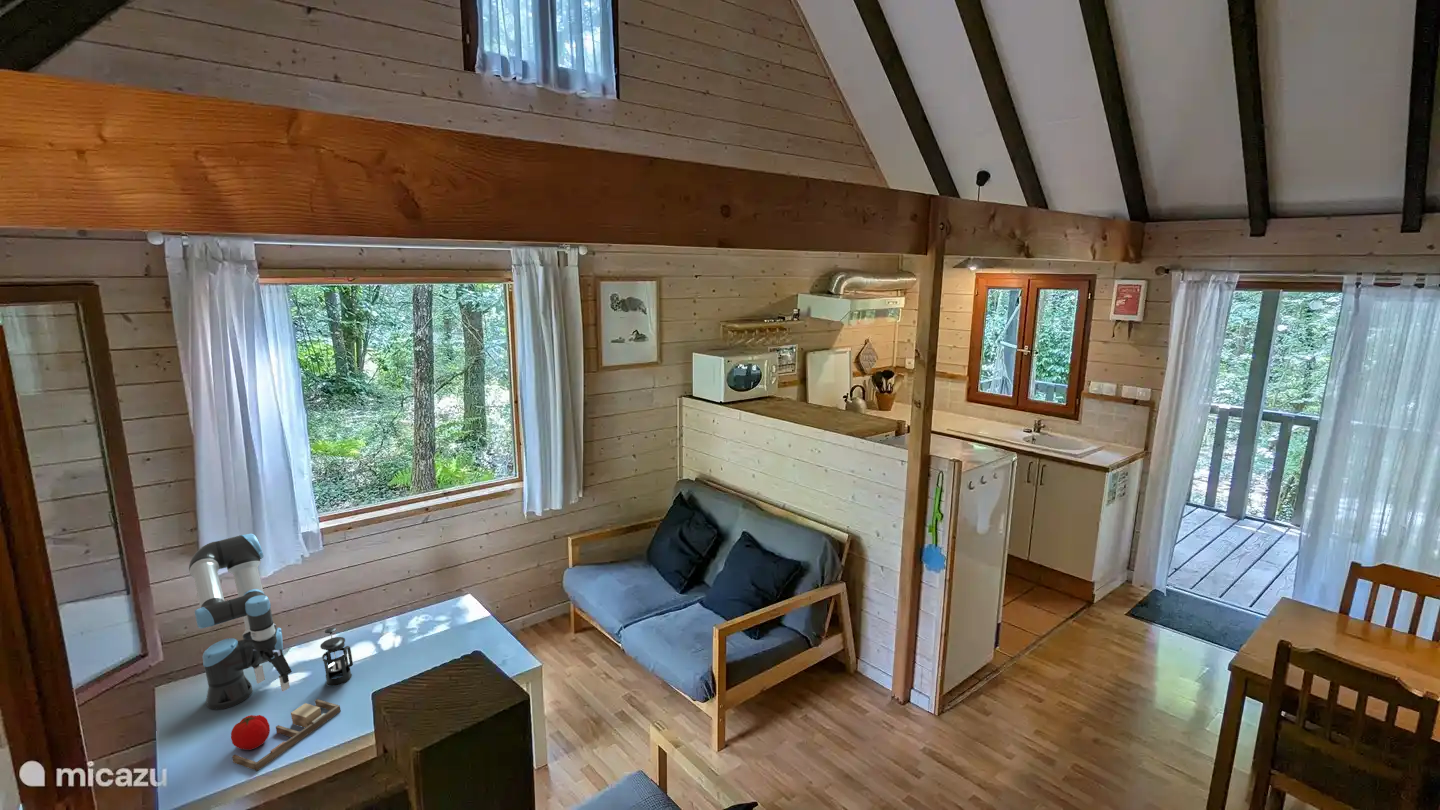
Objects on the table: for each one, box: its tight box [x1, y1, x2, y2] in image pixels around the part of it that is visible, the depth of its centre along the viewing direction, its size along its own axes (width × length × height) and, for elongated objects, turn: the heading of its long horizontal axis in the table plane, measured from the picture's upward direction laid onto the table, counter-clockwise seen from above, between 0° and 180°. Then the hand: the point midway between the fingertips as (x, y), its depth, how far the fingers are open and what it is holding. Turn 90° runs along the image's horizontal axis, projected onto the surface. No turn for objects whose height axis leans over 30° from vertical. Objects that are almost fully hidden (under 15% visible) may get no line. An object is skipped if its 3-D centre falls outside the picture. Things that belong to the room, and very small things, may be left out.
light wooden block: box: [290, 702, 323, 728], centre depth 257 cm, size 8×6×5 cm
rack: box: [231, 698, 342, 772], centre depth 250 cm, size 12×33×3 cm, turn 159°
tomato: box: [230, 714, 271, 751], centre depth 245 cm, size 12×12×11 cm
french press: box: [319, 626, 354, 687], centre depth 281 cm, size 12×9×23 cm
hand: (273, 685), depth 262 cm, fingers open, 13 cm apart
